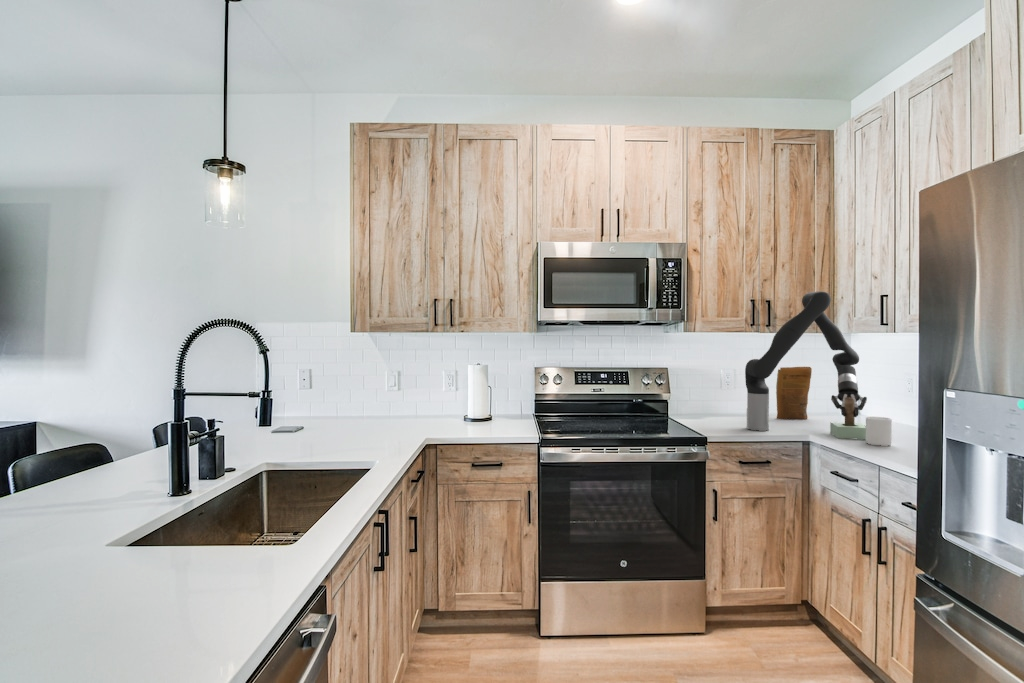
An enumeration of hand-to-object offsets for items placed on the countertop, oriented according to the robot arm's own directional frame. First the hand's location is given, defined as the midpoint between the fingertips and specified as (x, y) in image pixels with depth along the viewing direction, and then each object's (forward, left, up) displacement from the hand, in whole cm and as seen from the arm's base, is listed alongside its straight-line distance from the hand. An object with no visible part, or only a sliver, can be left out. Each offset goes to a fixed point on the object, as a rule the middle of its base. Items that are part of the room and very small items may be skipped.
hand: (850, 415), depth 225 cm
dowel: (0, +2, -7) cm, 7 cm away
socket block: (0, +2, -10) cm, 10 cm away
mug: (+6, -12, -10) cm, 16 cm away
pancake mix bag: (-14, +48, -10) cm, 51 cm away
